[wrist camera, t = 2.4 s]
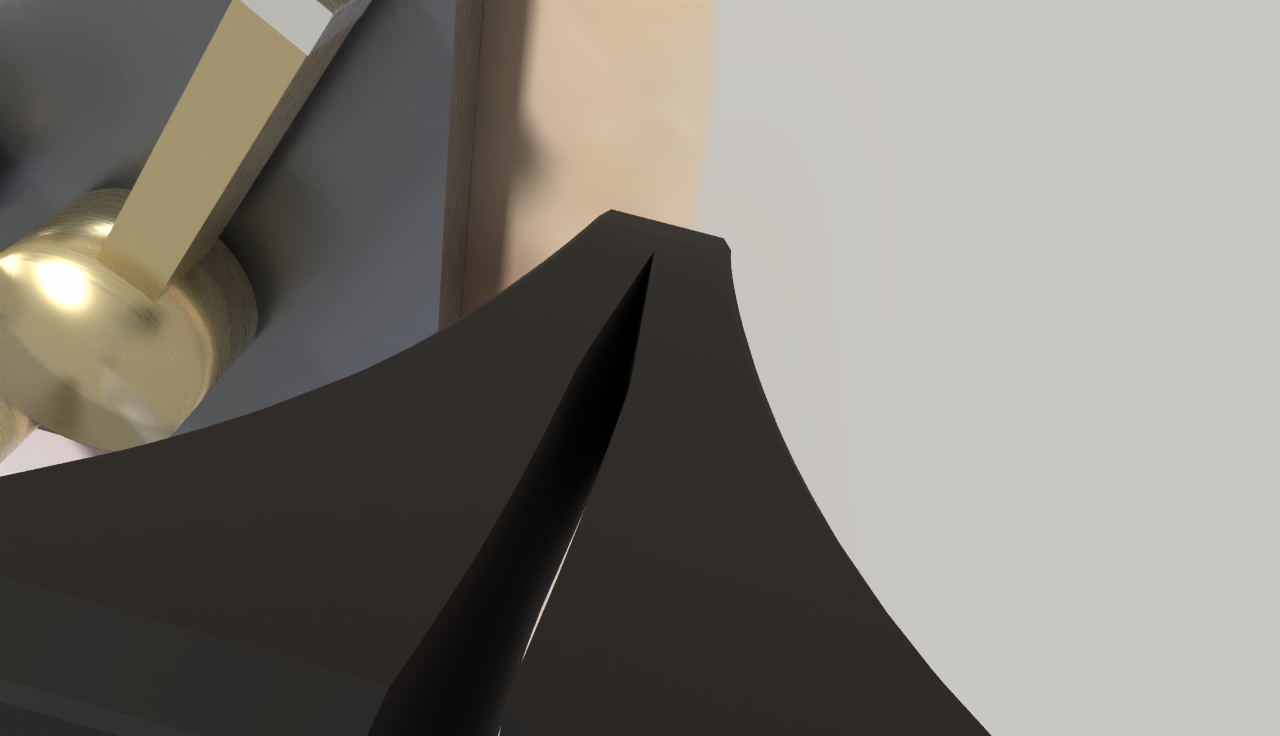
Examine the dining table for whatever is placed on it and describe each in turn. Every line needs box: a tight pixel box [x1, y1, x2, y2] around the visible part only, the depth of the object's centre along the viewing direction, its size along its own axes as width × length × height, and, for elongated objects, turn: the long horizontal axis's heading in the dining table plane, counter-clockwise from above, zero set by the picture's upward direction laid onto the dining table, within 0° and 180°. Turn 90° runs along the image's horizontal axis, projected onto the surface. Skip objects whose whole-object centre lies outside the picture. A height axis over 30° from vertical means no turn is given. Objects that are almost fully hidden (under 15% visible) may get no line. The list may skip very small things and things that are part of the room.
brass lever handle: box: [0, 0, 372, 451], centre depth 17 cm, size 11×4×3 cm, turn 140°
